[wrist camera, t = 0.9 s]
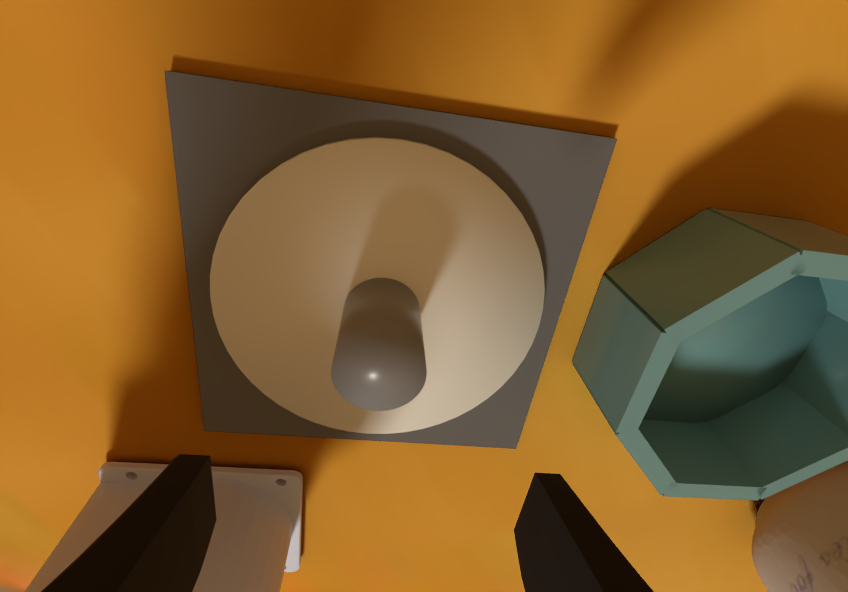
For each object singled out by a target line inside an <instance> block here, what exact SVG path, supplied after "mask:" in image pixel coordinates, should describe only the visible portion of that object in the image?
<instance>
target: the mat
mask: <svg viewBox="0 0 848 592" xmlns="http://www.w3.org/2000/svg"><path fill="white" fill-rule="evenodd" d="M165 80H166V89H167V98H168V107H169V116H170V125H171V134H172V143H173V152H174V161H175V170H176V179H177V189H178V198H179V207H180V216H181V225H182V234H183V243H184V252H185V261H186V270H187V279H188V288H189V297H190V306H191V315H192V324H193V333H194V342H195V351H196V360H197V369H198V378H199V387H200V396H201V405H202V414H203V423H204V431H216V432H233V433H250V434H268V435H285V436H303V437H320V438H337V439H355V440H372V441H390V442H407V443H424V444H442V445H459V446H477V447H494V448H511V449H516V447H517V444H518V441H519V438H520V435H521V432H522V429H523V426H524V423H525V419H526V416H527V413H528V410H529V407H530V404H531V401H532V398H533V395H534V392H535V389H536V386H537V383H538V380H539V377H540V373H541V370H542V367H543V364H544V361H545V358H546V355H547V352H548V349H549V346H550V343H551V340H552V337H553V334H554V331H555V328H556V324H557V321H558V318H559V315H560V312H561V309H562V306H563V303H564V300H565V297H566V294H567V291H568V288H569V285H570V282H571V279H572V275H573V272H574V269H575V266H576V263H577V260H578V257H579V254H580V251H581V248H582V245H583V242H584V239H585V236H586V233H587V229H588V226H589V223H590V220H591V217H592V214H593V211H594V208H595V205H596V202H597V199H598V196H599V193H600V190H601V187H602V184H603V180H604V177H605V174H606V171H607V168H608V165H609V162H610V159H611V156H612V153H613V150H614V147H615V144H616V141H617V139H615V138H612V137H606V136H599V135H593V134H586V133H579V132H573V131H566V130H559V129H553V128H546V127H540V126H533V125H526V124H520V123H513V122H507V121H500V120H493V119H487V118H480V117H473V116H467V115H460V114H454V113H447V112H440V111H434V110H427V109H421V108H414V107H407V106H401V105H394V104H387V103H381V102H374V101H368V100H361V99H354V98H348V97H341V96H335V95H328V94H321V93H315V92H308V91H301V90H295V89H288V88H282V87H275V86H268V85H262V84H255V83H249V82H242V81H235V80H229V79H222V78H215V77H209V76H202V75H196V74H189V73H182V72H176V71H165ZM365 137H386V138H400V139H405V140H410V141H415V142H420V143H424V144H428V145H430V146H433V147H436V148H439V149H442V150H444V151H447V152H449V153H451V154H453V155H455V156H457V157H459V158H461V159H463V160H465V161H467V162H468V163H470V164H472V165H473V166H474V167H476V168H477V169H479V170H480V171H481V172H483V173H484V174H485V175H487V176H488V177H489V178H490V179H491V180H492V181H493V182H495V183H496V184H497V185H498V186H499V187H500V188H501V189H502V190H503V191H504V192H505V193H506V194H507V195H508V197H509V198H510V199H511V201H512V202H513V203H514V204H515V206H516V207H517V208H518V210H519V211H520V212H521V213H522V215H523V217H524V219H525V220H526V222H527V224H528V226H529V228H530V229H531V231H532V233H533V236H534V239H535V241H536V244H537V247H538V249H539V252H540V257H541V261H542V266H543V271H544V287H545V292H544V304H543V311H542V316H541V320H540V324H539V328H538V331H537V333H536V336H535V338H534V341H533V344H532V345H531V347H530V349H529V351H528V353H527V355H526V356H525V358H524V360H523V361H522V363H521V364H520V366H519V367H518V368H517V370H516V371H515V372H514V374H513V375H512V376H511V377H510V378H509V379H508V380H507V381H506V382H505V384H504V385H503V386H502V387H501V388H500V389H498V390H497V391H496V392H495V393H494V394H493V395H491V396H490V397H489V398H488V399H486V400H485V401H483V402H482V403H480V404H479V405H478V406H476V407H475V408H473V409H471V410H469V411H468V412H466V413H464V414H462V415H460V416H458V417H456V418H454V419H451V420H449V421H446V422H444V423H441V424H438V425H435V426H431V427H428V428H424V429H420V430H414V431H409V432H402V433H391V434H366V433H357V432H349V431H344V430H339V429H334V428H330V427H327V426H324V425H321V424H318V423H314V422H312V421H309V420H307V419H305V418H303V417H300V416H298V415H296V414H294V413H292V412H290V411H289V410H287V409H285V408H283V407H282V406H280V405H278V404H277V403H276V402H274V401H273V400H271V399H270V398H269V397H267V396H266V395H265V394H263V393H262V392H261V391H260V390H259V389H258V388H257V387H256V386H255V385H254V384H252V383H251V382H250V381H249V379H248V378H247V377H246V376H245V375H244V374H243V372H242V371H241V370H240V369H239V368H238V366H237V365H236V363H235V362H234V360H233V359H232V357H231V356H230V354H229V353H228V351H227V349H226V347H225V345H224V343H223V341H222V339H221V337H220V335H219V332H218V329H217V326H216V323H215V319H214V316H213V311H212V305H211V299H210V272H211V265H212V258H213V254H214V250H215V247H216V244H217V241H218V238H219V235H220V233H221V231H222V229H223V227H224V225H225V223H226V221H227V219H228V217H229V215H230V214H231V213H232V211H233V210H234V208H235V207H236V206H237V204H238V203H239V201H240V200H241V199H242V197H243V196H244V195H245V194H246V193H247V192H248V191H249V190H250V189H251V188H252V187H253V186H254V185H255V184H256V183H257V182H258V181H259V180H260V179H262V178H263V177H264V176H265V175H267V174H268V173H269V172H271V171H272V170H274V169H275V168H276V167H278V166H279V165H280V164H282V163H283V162H285V161H287V160H289V159H291V158H293V157H295V156H297V155H298V154H300V153H302V152H304V151H307V150H310V149H313V148H315V147H318V146H321V145H324V144H327V143H331V142H336V141H341V140H346V139H351V138H365Z"/></svg>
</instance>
